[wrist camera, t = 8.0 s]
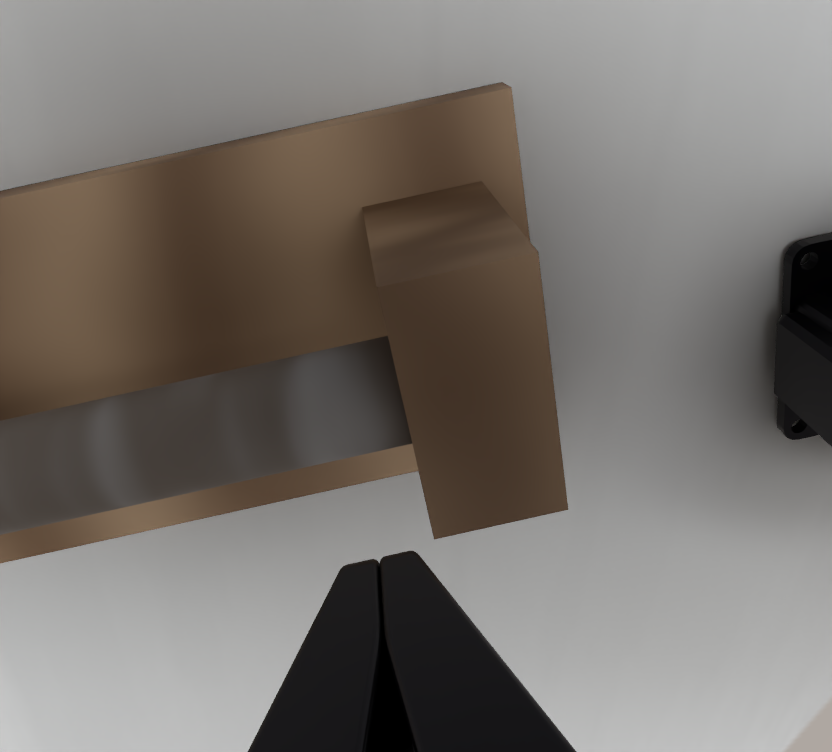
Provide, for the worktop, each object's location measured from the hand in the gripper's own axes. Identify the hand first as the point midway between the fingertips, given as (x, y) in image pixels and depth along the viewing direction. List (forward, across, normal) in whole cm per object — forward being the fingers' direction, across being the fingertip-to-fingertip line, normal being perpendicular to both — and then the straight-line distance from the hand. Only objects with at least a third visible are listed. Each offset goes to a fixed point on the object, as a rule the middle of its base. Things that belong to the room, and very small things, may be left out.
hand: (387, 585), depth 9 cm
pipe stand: (+13, +10, +2) cm, 17 cm away
